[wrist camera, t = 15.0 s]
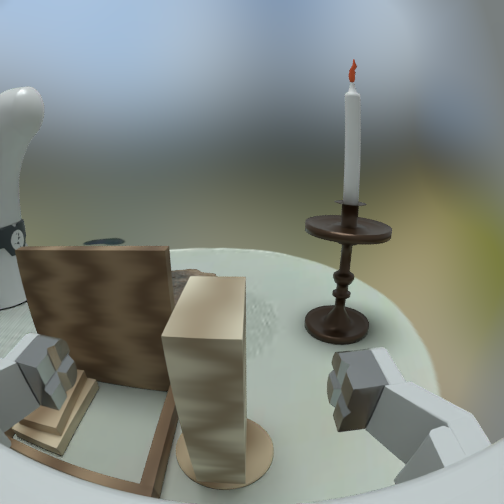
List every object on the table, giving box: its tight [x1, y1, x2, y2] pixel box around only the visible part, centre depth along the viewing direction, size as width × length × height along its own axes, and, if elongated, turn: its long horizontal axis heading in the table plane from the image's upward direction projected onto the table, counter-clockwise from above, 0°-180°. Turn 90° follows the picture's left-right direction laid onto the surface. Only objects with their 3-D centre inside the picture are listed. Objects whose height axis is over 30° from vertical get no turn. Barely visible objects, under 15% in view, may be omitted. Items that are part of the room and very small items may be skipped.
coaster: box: [176, 419, 273, 490], centre depth 20 cm, size 8×8×1 cm
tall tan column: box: [161, 276, 247, 484], centre depth 18 cm, size 4×7×14 cm, turn 0°
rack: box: [4, 246, 179, 499], centre depth 19 cm, size 17×15×15 cm
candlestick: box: [305, 60, 392, 345], centre depth 34 cm, size 11×11×35 cm
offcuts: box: [12, 370, 99, 456], centre depth 21 cm, size 6×10×2 cm, turn 0°
